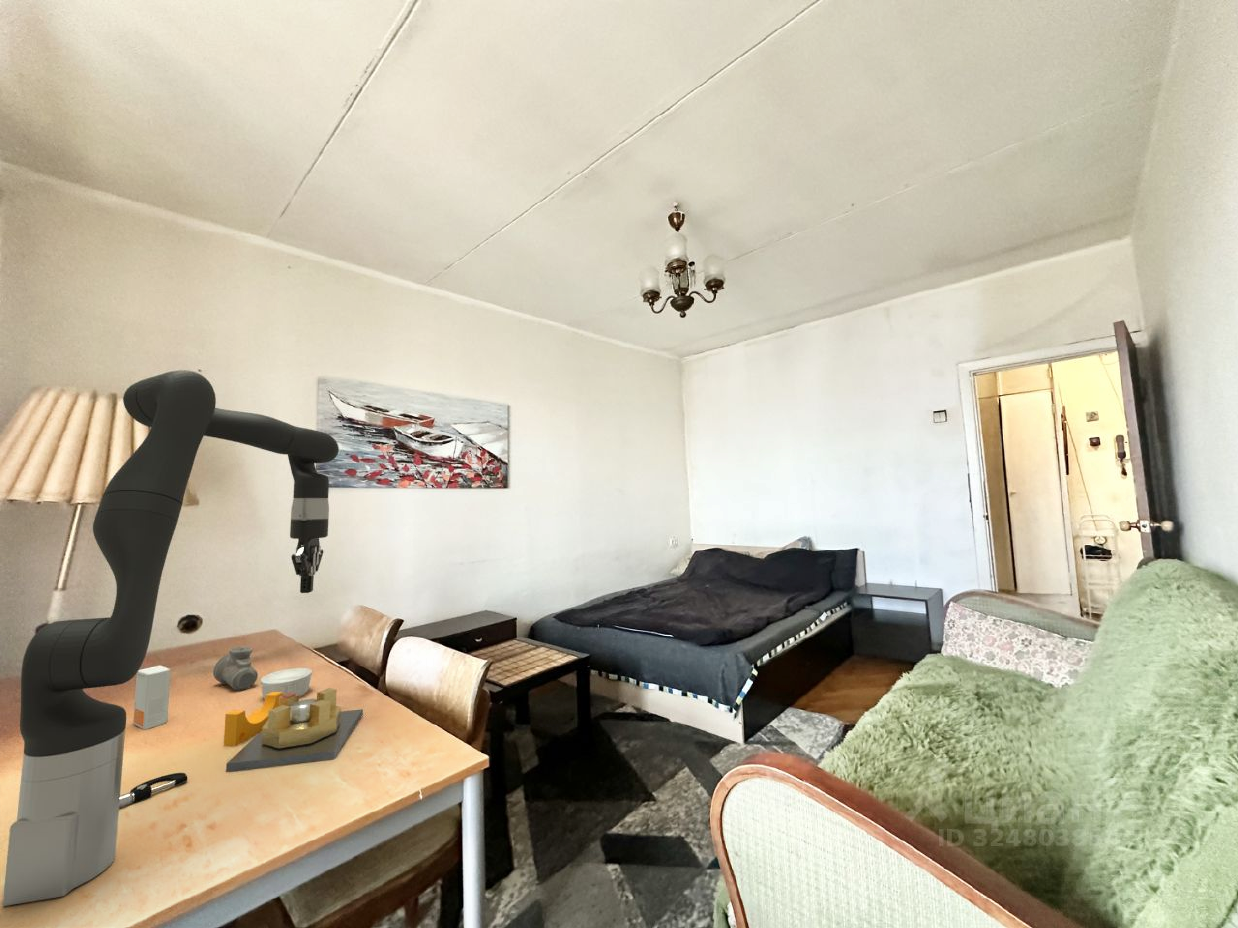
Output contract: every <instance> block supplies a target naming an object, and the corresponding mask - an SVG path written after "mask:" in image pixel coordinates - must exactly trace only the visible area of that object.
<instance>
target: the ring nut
mask: <svg viewBox="0 0 1238 928" xmlns="http://www.w3.org/2000/svg"><path fill="white" fill-rule="evenodd" d="M299 699H300V697H299V695H297V694H294V693H287V694H284V695H282V696H281V697H279V707H277V708H274V709H271V710H269V712H268V721H267V722H266V723H265V725H264V726H263V727H262V744H265V745H269V746H272V747H276V748H285V747H291V746H297V745H303V744H309V743H312V742H315V741H317V740H319V739H321V738H323V737H325V736H328V735H330V734H332V733H334V732H336V731H337V728H338V726H339V723H340V718H341V711H342V707H341V706H340V705H339V706H338V705H337V689H336V688H331V687H329V688H326V689H323V690H321V691H317V693H316V699H317V700H318V701H317V702H315V703H312V704H310V718H309V722H307V723H300V724H294V725H290V711H291V707H290V705H291V704H292V703H294V702H297V701H300V700H299Z"/></svg>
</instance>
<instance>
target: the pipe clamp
mask: <svg viewBox="0 0 1238 928" xmlns="http://www.w3.org/2000/svg"><path fill="white" fill-rule="evenodd" d="M282 695H283V692H271V693H269V694H267V695H266V696H265V699H264V701H263V702H264V703H263V705H262V707H260V708H258V709H256V710H255V711H252V712H251V713H250V714H249V716H246V715H247V714H246V710H240V709H239V710H238V709H236V710H235V709H234V710H231V711H230V712H227V713H225V716H224V717H225V718H224V731H223V732H224V735H223V747H237V746H239V745H240V744H243V743H244V742H246V741H248V740H249V739H252V738H254V737H255V736H256V735H258V734H259V733H260V732H261V731H262V730H261V729H262V727H263V726H264V725H265V723H266V722H267V721H268V712H269V710H271V709H274V708H277V707H279V697H281V696H282Z"/></svg>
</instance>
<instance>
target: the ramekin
mask: <svg viewBox="0 0 1238 928" xmlns="http://www.w3.org/2000/svg"><path fill="white" fill-rule="evenodd" d="M312 675H313V671H312V669H310V668H309V667H308V668H307V667H295V668H287V669H281V670H277V671H274V672H271V673H268V674H266V675H264V676H263V677H261V679H260V682H259V683H260V685H261V690H262V691H261V692H262V698H263V699H264V700H265V696H266V695H267V694H269V693H271V692H283V695H284V694H287V693H294V694H297V695H299V698H300V697H302V696H303V695H305V694H306V693H307V692H308V690H309V688H310V687H309V686H310V682H311V678H312Z"/></svg>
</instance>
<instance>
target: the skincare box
mask: <svg viewBox="0 0 1238 928" xmlns="http://www.w3.org/2000/svg"><path fill="white" fill-rule="evenodd" d="M171 673H172V671H171V669H170V668H168V667H166V666H162V665H156V666H151V667H146V668H143V669H142V668H140V669H139V670H138V672H137V673H136V680H135V691H134V692H135V695H134V706H133V717H132V719H133V721H132V724H133V725H135V726H136V727H139V728H141V729H142V730H148V729H151V728H154V727H158V726H162V725H164V724H166V723H168V718H169V716H168V715H169V702H170V689H171V675H172V674H171Z"/></svg>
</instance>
